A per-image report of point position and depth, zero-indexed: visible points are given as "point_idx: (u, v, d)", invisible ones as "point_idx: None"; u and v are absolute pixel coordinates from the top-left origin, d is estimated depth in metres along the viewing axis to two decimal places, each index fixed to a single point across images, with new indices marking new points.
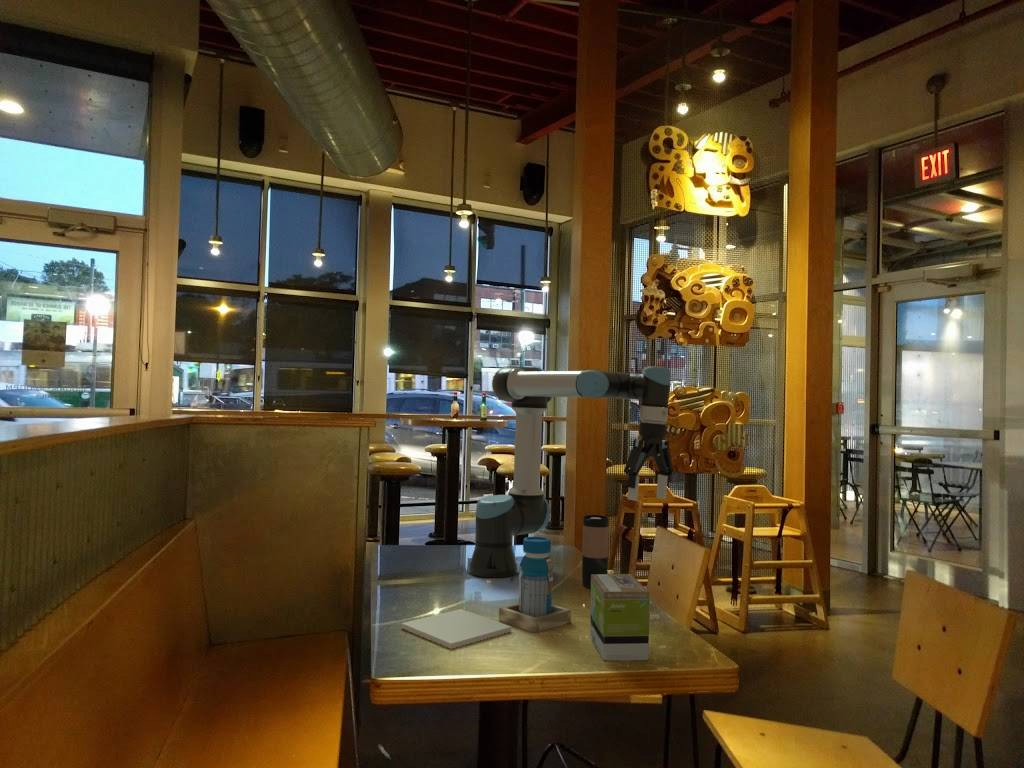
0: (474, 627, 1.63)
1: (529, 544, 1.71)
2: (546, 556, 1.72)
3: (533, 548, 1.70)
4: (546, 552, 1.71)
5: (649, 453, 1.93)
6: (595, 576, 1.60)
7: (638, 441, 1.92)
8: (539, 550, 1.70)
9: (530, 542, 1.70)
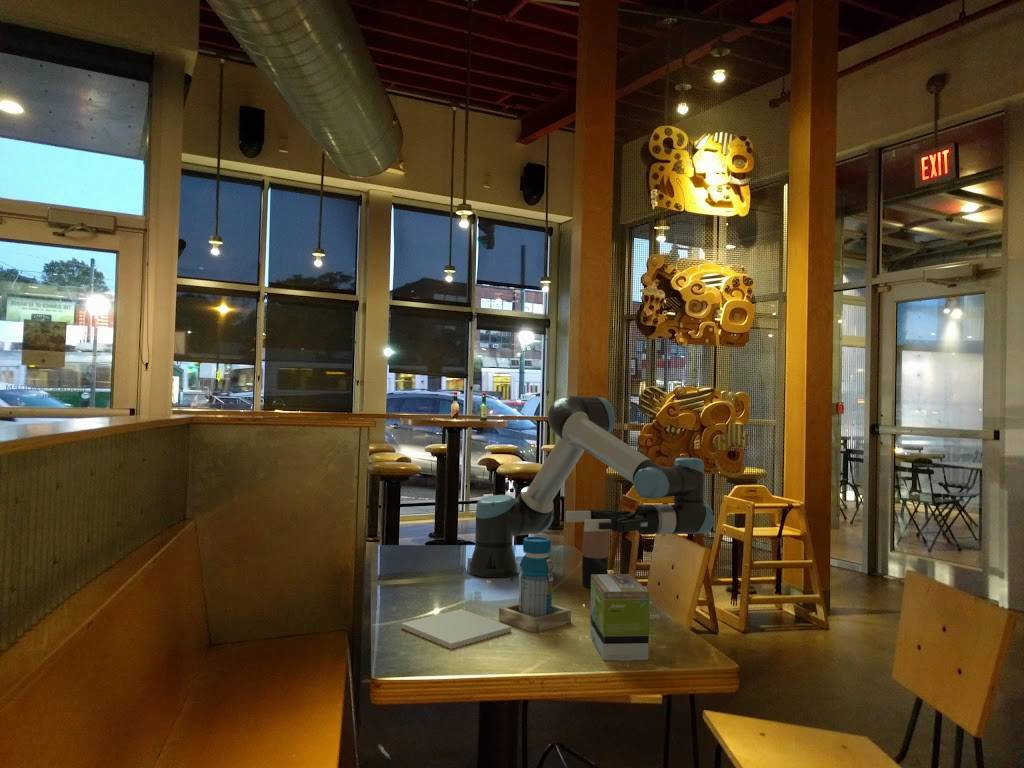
0: (474, 627, 1.63)
1: (529, 544, 1.71)
2: (546, 556, 1.72)
3: (533, 548, 1.70)
4: (546, 552, 1.71)
5: None
6: (595, 576, 1.60)
7: (646, 526, 1.73)
8: (539, 550, 1.70)
9: (530, 542, 1.70)
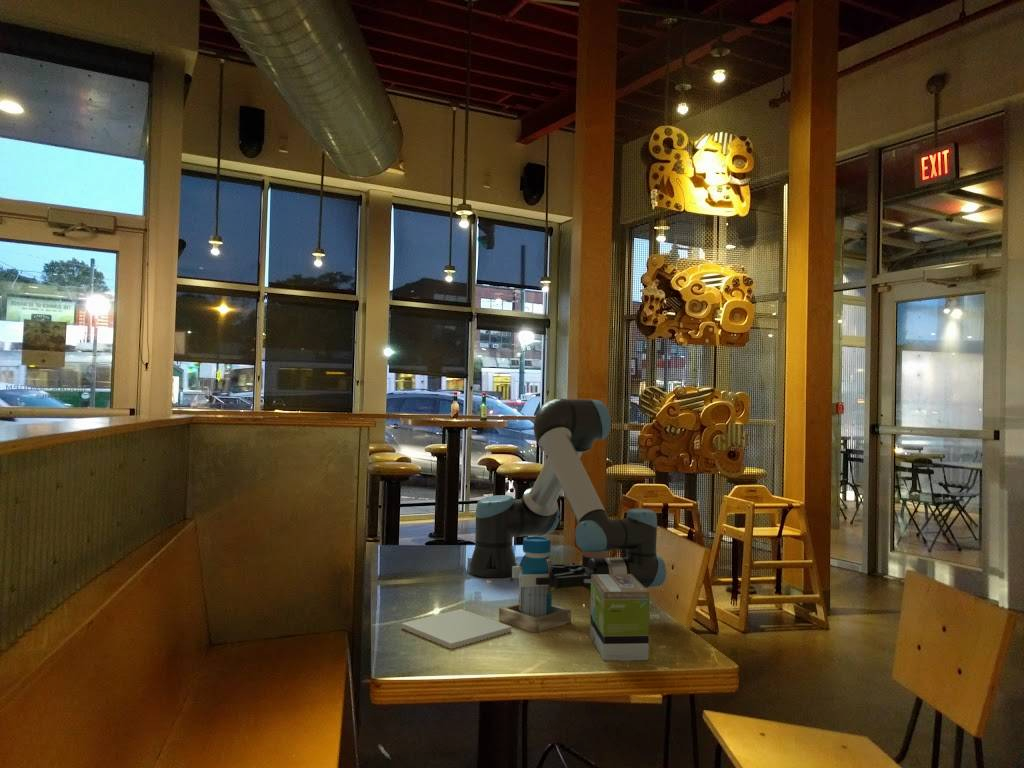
0: (474, 627, 1.63)
1: (529, 544, 1.71)
2: (546, 556, 1.72)
3: (533, 548, 1.70)
4: (546, 552, 1.71)
5: None
6: (595, 576, 1.60)
7: (590, 582, 1.69)
8: (539, 550, 1.70)
9: (530, 542, 1.71)
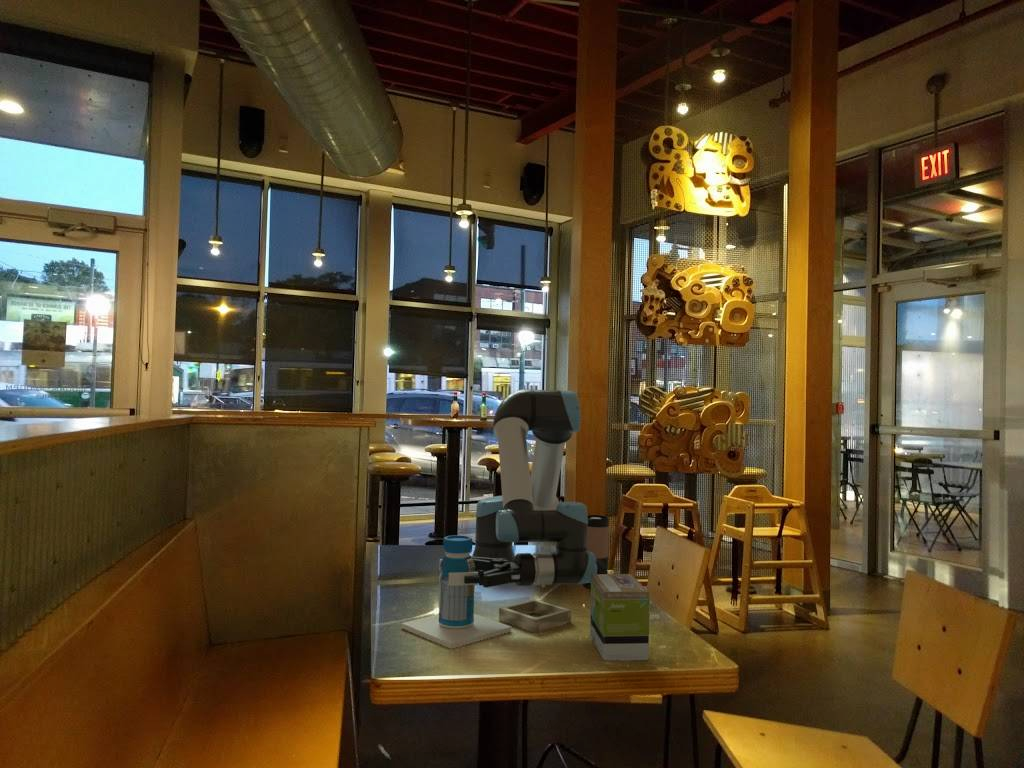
0: (474, 627, 1.63)
1: (449, 544, 1.63)
2: (467, 556, 1.64)
3: (452, 547, 1.62)
4: (466, 552, 1.63)
5: None
6: (595, 576, 1.60)
7: (518, 578, 1.61)
8: (459, 549, 1.62)
9: (449, 541, 1.62)
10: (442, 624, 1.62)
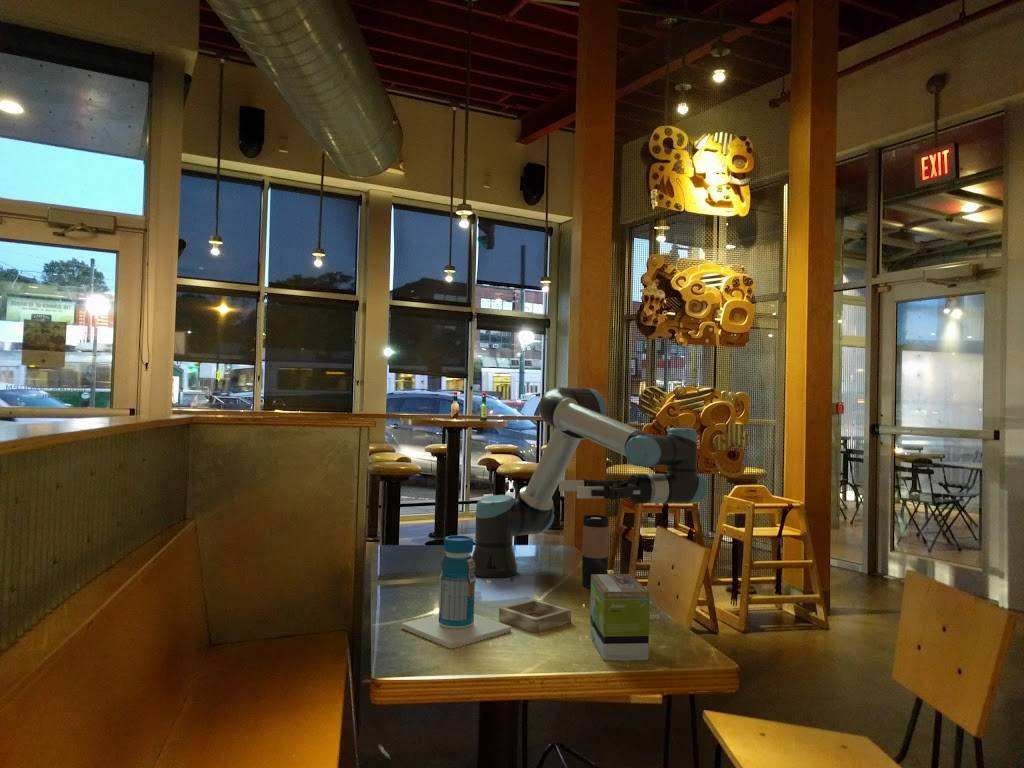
0: (474, 627, 1.63)
1: (449, 543, 1.63)
2: (467, 556, 1.64)
3: (453, 547, 1.62)
4: (467, 552, 1.63)
5: None
6: (595, 576, 1.60)
7: (638, 493, 1.74)
8: (460, 549, 1.62)
9: (450, 541, 1.63)
10: (442, 624, 1.62)
